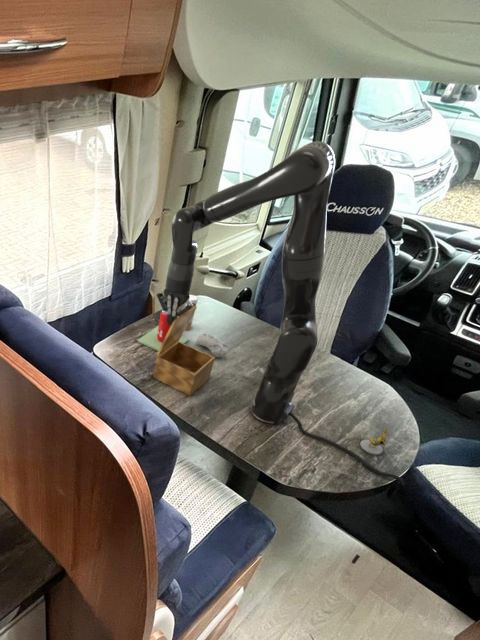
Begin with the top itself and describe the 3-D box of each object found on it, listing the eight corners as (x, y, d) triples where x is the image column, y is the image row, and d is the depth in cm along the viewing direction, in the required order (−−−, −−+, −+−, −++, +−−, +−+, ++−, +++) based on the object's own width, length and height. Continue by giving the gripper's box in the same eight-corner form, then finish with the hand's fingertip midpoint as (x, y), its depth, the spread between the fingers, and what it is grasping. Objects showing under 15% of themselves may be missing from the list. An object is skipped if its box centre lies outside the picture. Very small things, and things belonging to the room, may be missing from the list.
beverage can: (157, 334, 171) (162, 307, 164) (171, 337, 170) (176, 309, 162) (155, 341, 167) (160, 314, 160) (169, 344, 166) (174, 316, 158)
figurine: (378, 457, 124) (391, 437, 119) (356, 446, 127) (369, 426, 122) (385, 448, 127) (399, 428, 122) (364, 437, 130) (377, 417, 125)
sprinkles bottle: (179, 329, 176) (185, 299, 168) (179, 323, 179) (186, 293, 171) (191, 331, 175) (198, 300, 167) (191, 325, 179) (198, 295, 170)
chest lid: (197, 306, 142) (195, 305, 142) (175, 322, 135) (173, 320, 135) (178, 340, 153) (177, 339, 154) (157, 356, 146) (156, 355, 146)
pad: (188, 340, 170) (188, 339, 169) (168, 356, 161) (169, 354, 161) (157, 327, 177) (157, 326, 176) (137, 341, 169) (137, 339, 168)
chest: (209, 377, 152) (215, 357, 146) (189, 395, 144) (195, 374, 139) (173, 361, 159) (177, 341, 154) (153, 377, 151) (156, 357, 146)
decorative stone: (189, 345, 167) (192, 333, 164) (200, 339, 170) (203, 328, 167) (219, 361, 159) (222, 349, 156) (230, 354, 163) (233, 343, 159)
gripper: (154, 272, 135) (147, 321, 146) (193, 285, 128) (182, 336, 139) (168, 264, 139) (160, 313, 150) (206, 277, 132) (194, 327, 143)
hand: (171, 324), depth 144 cm, fingers closed
